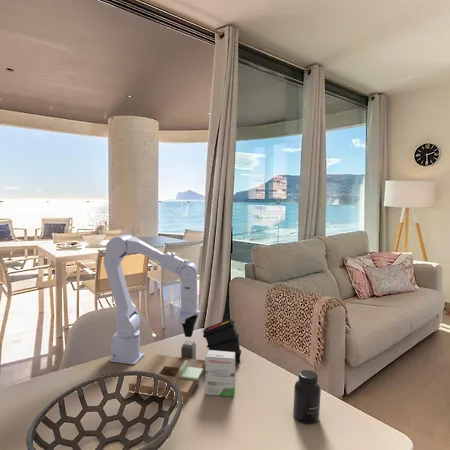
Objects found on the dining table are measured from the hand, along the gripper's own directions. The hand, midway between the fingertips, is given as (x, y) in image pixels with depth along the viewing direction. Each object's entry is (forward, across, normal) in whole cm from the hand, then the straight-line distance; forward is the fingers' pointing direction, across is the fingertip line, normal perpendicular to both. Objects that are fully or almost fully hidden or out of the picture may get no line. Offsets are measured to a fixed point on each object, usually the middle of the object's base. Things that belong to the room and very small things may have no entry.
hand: (188, 336), depth 121 cm
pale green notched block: (+6, -13, -5) cm, 15 cm away
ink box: (+10, -14, -15) cm, 23 cm away
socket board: (+9, -13, +2) cm, 16 cm away
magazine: (+10, +4, -11) cm, 15 cm away
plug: (+10, 0, 0) cm, 10 cm away
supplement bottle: (+10, -20, -40) cm, 46 cm away
